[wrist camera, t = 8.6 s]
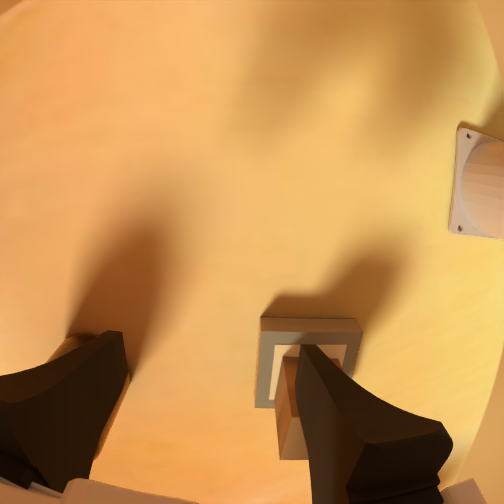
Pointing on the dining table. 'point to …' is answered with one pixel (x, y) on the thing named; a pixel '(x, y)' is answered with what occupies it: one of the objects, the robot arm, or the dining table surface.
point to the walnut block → (290, 412)
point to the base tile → (288, 344)
